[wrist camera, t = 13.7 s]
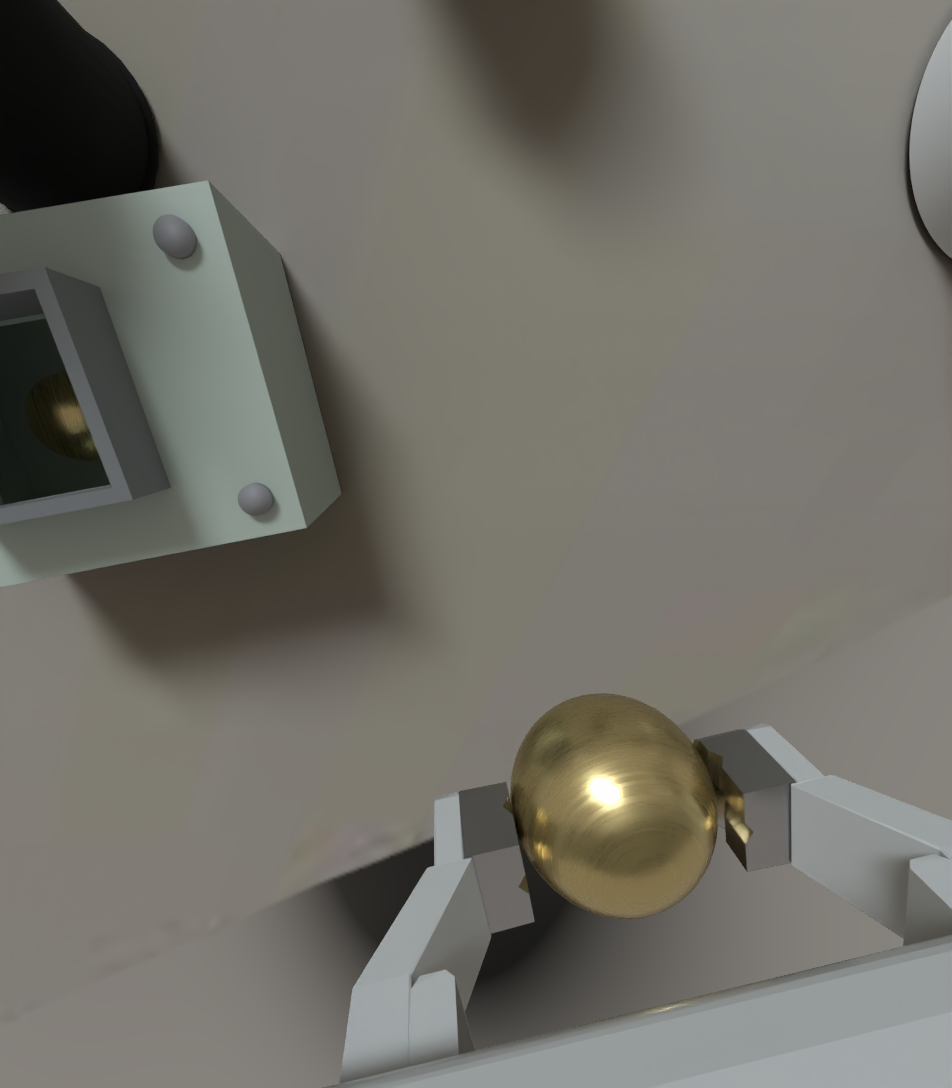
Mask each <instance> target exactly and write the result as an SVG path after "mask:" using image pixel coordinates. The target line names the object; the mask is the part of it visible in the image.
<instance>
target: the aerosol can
mask: <svg viewBox="0 0 952 1088" xmlns="http://www.w3.org/2000/svg"><path fill="white" fill-rule="evenodd" d="M157 167H158V141H157V136H156V130H155V124H154V121H153V118H152V115H151V112H150V109H149V107H148V104H147V101H146V99H145V97H144V95H143V93H142V92H141V90H140V88H139V86H138V84H137V82H136V80H135V79H134V77H133V76H132V75H131V73H130V72H129V71H128V69H127V68H126V67H125V65H124V64H123V63H122V61H121V60H120V59H119V58H118V57H117V56H116V55H115V54H114V53H113V52H112V51H111V50H110V49H109V48H108V47H107V46H106V45H105V44H104V43H102V42H101V41H99V40H98V39H96V38H95V37H94V36H92V35H91V34H89V33H88V32H86V31H85V30H84V29H83V28H82V27H81V26H80V25H79V24H78V23H77V21H76V20H75V19H74V18H73V17H72V16H71V15H70V14H69V13H68V12H67V11H66V10H65V8H64V7H63V6H62V5H61V4H60V3H59V2H58V1H57V0H0V203H2V204H4V205H5V206H6V207H7V208H9V209H10V210H11V211H12V212H13V213H15V212H22V211H28V210H34V209H40V208H46V207H52V206H58V205H64V204H70V203H76V202H82V201H88V200H94V199H100V198H106V197H112V196H118V195H124V194H130V193H136V192H142V191H148V190H152V188H153V186H154V183H155V178H156V173H157Z"/></svg>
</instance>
